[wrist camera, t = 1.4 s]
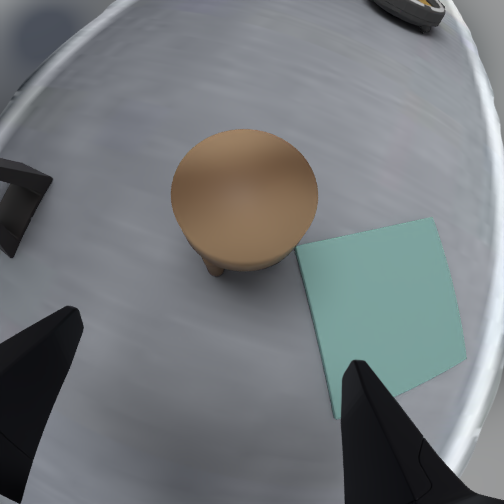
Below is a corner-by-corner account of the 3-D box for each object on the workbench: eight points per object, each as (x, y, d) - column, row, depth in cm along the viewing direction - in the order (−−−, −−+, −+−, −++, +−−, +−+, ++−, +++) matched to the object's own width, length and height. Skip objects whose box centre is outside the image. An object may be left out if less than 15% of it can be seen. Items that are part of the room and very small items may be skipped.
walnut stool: (294, 279, 23) (336, 243, 13) (206, 298, 22) (182, 275, 12) (273, 198, 24) (294, 121, 14) (191, 215, 23) (164, 143, 14)
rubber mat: (462, 358, 21) (466, 358, 21) (333, 417, 20) (336, 419, 19) (429, 219, 25) (432, 217, 24) (294, 248, 23) (295, 246, 23)
